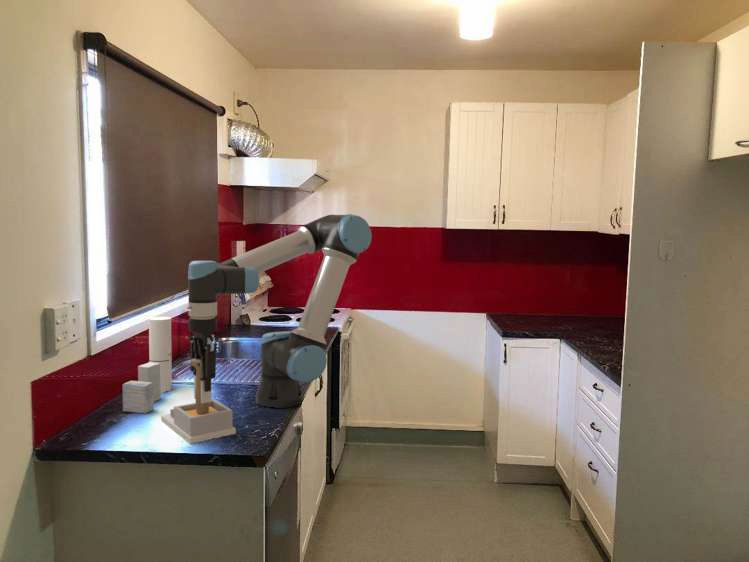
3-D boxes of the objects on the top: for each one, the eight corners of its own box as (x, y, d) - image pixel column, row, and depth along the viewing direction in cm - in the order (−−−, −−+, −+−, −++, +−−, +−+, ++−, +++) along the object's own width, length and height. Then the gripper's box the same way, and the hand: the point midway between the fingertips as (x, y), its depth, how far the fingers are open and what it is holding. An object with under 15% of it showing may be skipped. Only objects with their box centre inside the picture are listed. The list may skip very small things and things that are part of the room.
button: (210, 414, 169) (210, 406, 169) (222, 422, 163) (222, 413, 163) (183, 420, 164) (183, 411, 164) (194, 428, 158) (194, 419, 158)
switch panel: (203, 412, 180) (203, 391, 179) (235, 433, 162) (235, 410, 162) (161, 420, 171) (161, 398, 171) (190, 443, 154) (189, 419, 154)
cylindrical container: (175, 387, 205) (175, 317, 202) (164, 393, 198) (164, 320, 195) (156, 386, 206) (156, 316, 204) (145, 392, 199) (144, 319, 197)
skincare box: (150, 397, 193) (149, 361, 192) (161, 398, 192) (160, 362, 191) (137, 402, 187) (137, 366, 186) (149, 404, 186) (148, 367, 185)
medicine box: (154, 409, 181) (153, 382, 180) (145, 414, 177) (145, 386, 176) (131, 407, 183) (131, 380, 182) (122, 411, 179) (121, 383, 178)
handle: (195, 409, 166) (195, 357, 165) (217, 410, 165) (217, 358, 164) (187, 414, 161) (187, 361, 160) (209, 416, 160) (209, 362, 159)
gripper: (177, 313, 165) (178, 394, 167) (201, 322, 152) (202, 410, 154) (203, 311, 170) (203, 390, 172) (229, 320, 156) (228, 405, 159)
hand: (202, 400), depth 163 cm, fingers closed on handle, 4 cm apart
